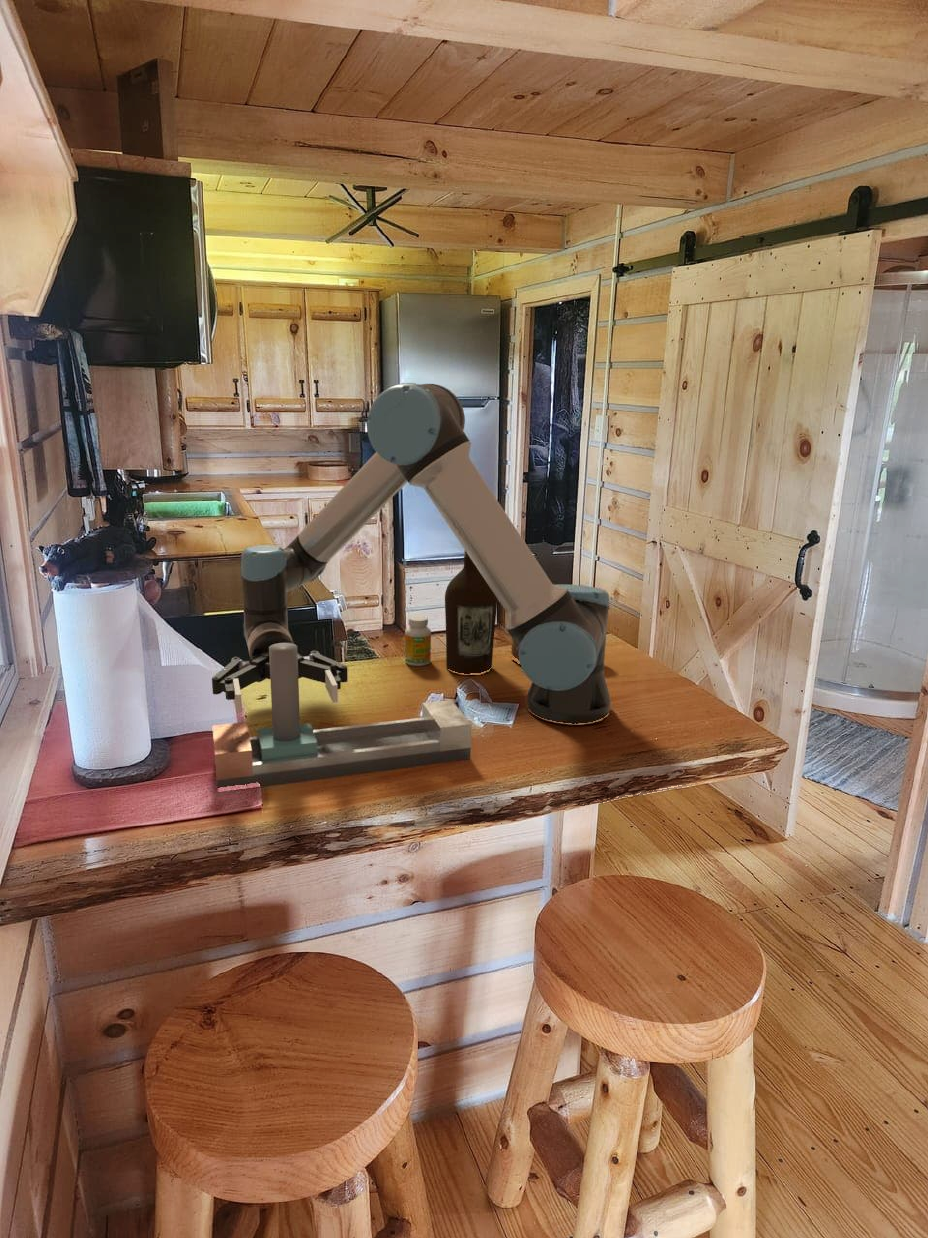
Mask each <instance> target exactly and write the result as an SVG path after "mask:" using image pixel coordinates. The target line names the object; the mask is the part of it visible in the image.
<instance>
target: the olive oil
mask: <svg viewBox="0 0 928 1238" xmlns="http://www.w3.org/2000/svg"><path fill="white" fill-rule="evenodd" d="M497 607H498V599H497V597H496V596H495V594H494V593H493V591H492V590H491V588H490V587H489V585H488V584H487V582H486V581H485V579H484V578H483V576H482V575H481V573H480V572H479V570H478V569H477V567H476V566H475V564H474V563H473V561H472V560H471V558H470V557H469V555H468V554H467V552H466V551H465V550H464V556H463V568H462V569H461V570H460V571H459V572H458V573H457V574H456V575H455V576H454V577H453V578H452V579H451V580H450V581H449V583H448V584H447V587H446V589H445V592H444V610H445V611H444V612H445V613H444V616H445V658H446V660H445V661H446V663H445V664H446V666H447V667H446V669H447V668H448V669H450V670H452V671H455V672H458V673H464V674H470V673H481V672H484V671H487V670H489V669H490V668H491V667H493V656H494V655H493V652H494V642H495V640H494V639H495V631H496V629H495V628H496V621H497V620H496V619H497ZM448 669H447V670H448Z"/></svg>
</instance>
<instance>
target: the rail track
mask: <svg viewBox="0 0 928 1238" xmlns="http://www.w3.org/2000/svg"><path fill="white" fill-rule="evenodd" d="M421 706H422V707H421V708H422V709H421V710H422V717H415V718H406V719H399V720H391V721H390V720H389V721H379V722H372V723H362V724H352V725H346V726H336V727H328V728H320V729H319V728H318V729H313V732H314V735H315V737H316V740H317V749H318V754H316V755H308V756H300V757H292V758H284V759H276V760H267V761H261V758H260V753H259V748H258V735H256V736H250V732H249V728H248V723H247V721H243V722H235V723H233V722H232V723H225V724H216V725H212V726H211V727H212V738H213V739H212V740H213V751H214V753H213V754H214V764H215V766H216V767H215V766H214V767H215V775H216V777H215V778H217V779H216V788H220V787H227V786H235V785H245V784H246V785H247V784H250V783H256V782H258V783H259V784H260V786H261V787H260V788H264V787H271V786H272V787H274V786H280V785H286V784H287V785H288V784H295V783H302V782H310V781H318V780H324V779H325V780H326V779H331V778H340V777H346V776H355V775H356V776H357V775H361V774H362V775H363V774H369V773H378V772H384V771H392V770H399V769H407V768H413V767H414V768H415V767H421V766H423V767H424V766H430V765H437V764H443V763H453V762H460V761H466V760H468V761H469V760H471V751H472V750H471V748H472V745H471V744H472V742H471V741H472V723H471V722H470V721H469V720H468V718H467V717H466V716H465V715H464V713H463V712H462V710H461V709H459V707H458V706H457V704H456V703H455V702H454V701H453V700H452V699H447V700H439V701H429V702H423V703H422V705H421Z"/></svg>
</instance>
